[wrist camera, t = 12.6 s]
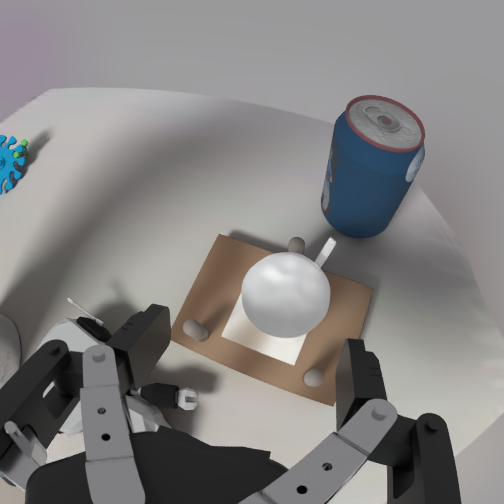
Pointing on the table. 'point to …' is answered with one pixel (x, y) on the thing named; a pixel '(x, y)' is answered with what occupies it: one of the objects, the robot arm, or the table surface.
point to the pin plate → (252, 339)
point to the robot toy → (140, 408)
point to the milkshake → (287, 294)
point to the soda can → (371, 164)
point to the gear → (11, 160)
